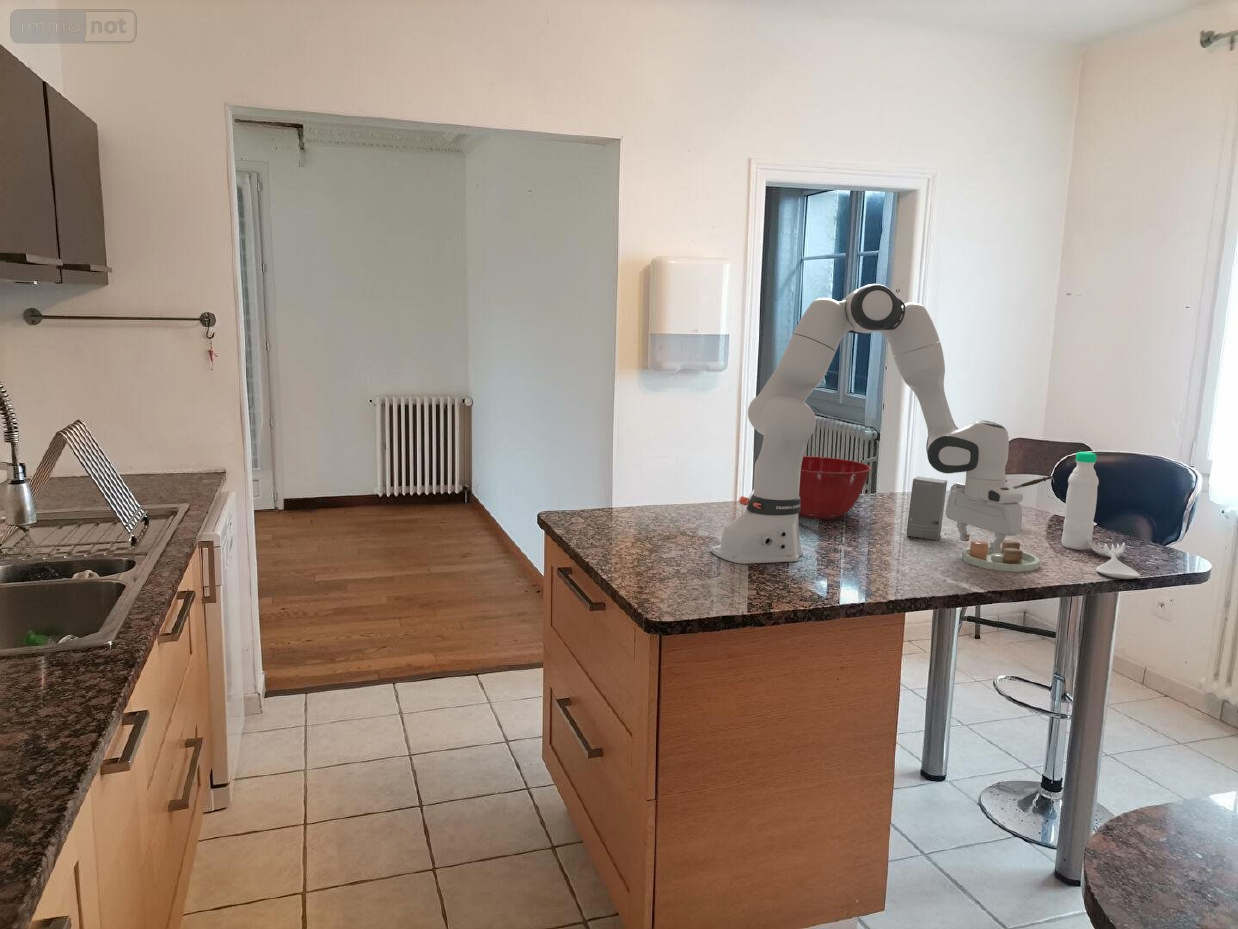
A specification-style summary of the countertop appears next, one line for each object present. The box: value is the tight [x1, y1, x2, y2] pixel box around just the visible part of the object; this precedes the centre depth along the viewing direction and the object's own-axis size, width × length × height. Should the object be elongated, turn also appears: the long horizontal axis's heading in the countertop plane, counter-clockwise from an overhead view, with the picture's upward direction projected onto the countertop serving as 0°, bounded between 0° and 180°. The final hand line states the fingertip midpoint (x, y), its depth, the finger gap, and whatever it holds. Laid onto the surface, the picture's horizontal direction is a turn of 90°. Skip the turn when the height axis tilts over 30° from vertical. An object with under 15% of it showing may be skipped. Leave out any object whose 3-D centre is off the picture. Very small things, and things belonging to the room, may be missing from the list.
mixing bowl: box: [798, 455, 872, 520], centre depth 267 cm, size 28×28×15 cm
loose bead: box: [969, 540, 989, 561], centre depth 218 cm, size 4×4×4 cm
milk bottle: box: [1061, 451, 1100, 551], centre depth 234 cm, size 7×7×25 cm
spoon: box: [1087, 539, 1142, 580], centre depth 217 cm, size 9×32×3 cm, turn 158°
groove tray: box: [961, 545, 1041, 573], centre depth 216 cm, size 17×17×2 cm
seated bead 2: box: [1003, 548, 1023, 564], centre depth 212 cm, size 4×4×4 cm
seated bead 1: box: [1001, 539, 1021, 554], centre depth 219 cm, size 4×4×4 cm
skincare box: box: [906, 476, 948, 541], centre depth 243 cm, size 8×7×16 cm
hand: (979, 545), depth 218 cm, fingers open, 8 cm apart
